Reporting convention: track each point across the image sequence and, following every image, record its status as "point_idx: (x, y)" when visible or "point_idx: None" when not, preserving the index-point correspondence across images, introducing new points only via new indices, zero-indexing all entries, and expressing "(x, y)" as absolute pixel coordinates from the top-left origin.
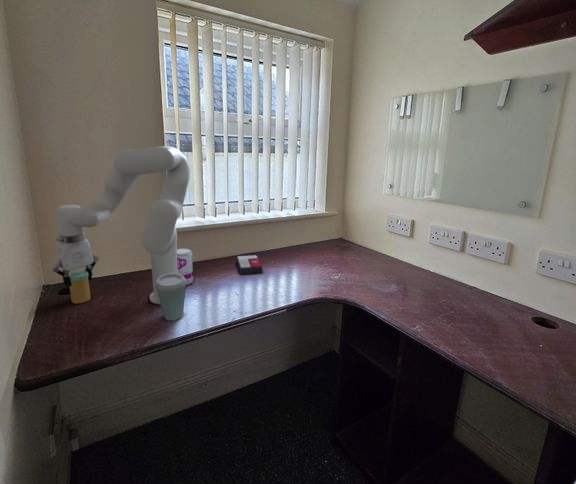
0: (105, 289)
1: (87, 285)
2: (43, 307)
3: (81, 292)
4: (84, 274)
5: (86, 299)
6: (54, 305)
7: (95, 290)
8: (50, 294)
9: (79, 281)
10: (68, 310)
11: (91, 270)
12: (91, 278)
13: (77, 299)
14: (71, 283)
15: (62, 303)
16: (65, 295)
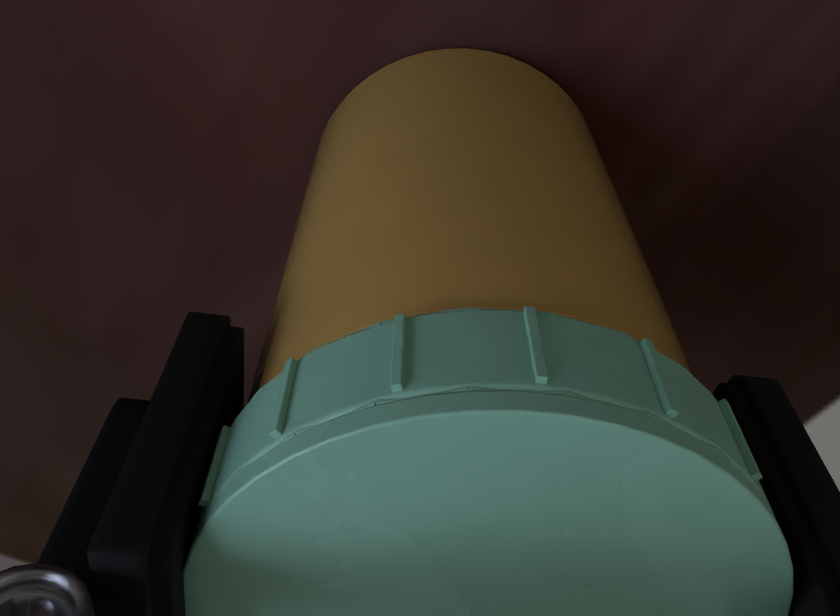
0: (6, 186)
1: (376, 207)
2: (833, 382)
3: (547, 146)
4: (393, 476)
5: (454, 59)
6: (747, 327)
7: (144, 282)
8: None
9: (608, 327)
10: (830, 3)
11: (49, 558)
12: (187, 330)
13: (588, 137)
14: None
15: (663, 296)
16: None
